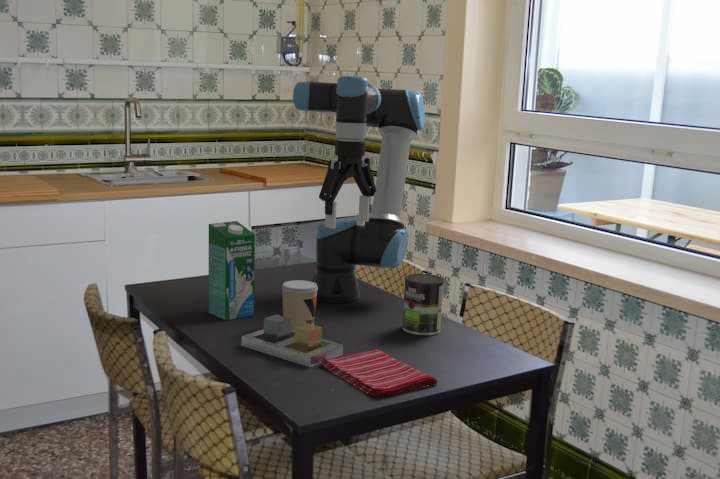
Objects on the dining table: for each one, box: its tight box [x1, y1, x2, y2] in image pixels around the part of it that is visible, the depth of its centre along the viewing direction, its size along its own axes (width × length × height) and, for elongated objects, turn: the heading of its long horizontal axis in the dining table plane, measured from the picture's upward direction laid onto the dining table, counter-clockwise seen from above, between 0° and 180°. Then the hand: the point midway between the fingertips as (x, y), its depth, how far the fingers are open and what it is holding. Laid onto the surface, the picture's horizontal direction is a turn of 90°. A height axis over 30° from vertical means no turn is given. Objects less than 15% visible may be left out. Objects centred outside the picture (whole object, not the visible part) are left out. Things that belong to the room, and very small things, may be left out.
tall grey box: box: [263, 314, 290, 343], centre depth 205 cm, size 4×4×7 cm
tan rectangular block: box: [294, 323, 323, 353], centre depth 199 cm, size 4×4×7 cm
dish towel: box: [319, 349, 438, 398], centre depth 189 cm, size 17×24×3 cm
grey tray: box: [241, 328, 344, 368], centre depth 203 cm, size 12×22×2 cm, turn 53°
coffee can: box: [401, 273, 445, 336], centre depth 222 cm, size 10×10×14 cm
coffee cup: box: [281, 279, 318, 331], centre depth 219 cm, size 9×9×12 cm
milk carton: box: [208, 220, 256, 322], centre depth 228 cm, size 9×9×25 cm
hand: (347, 224), depth 212 cm, fingers open, 13 cm apart
